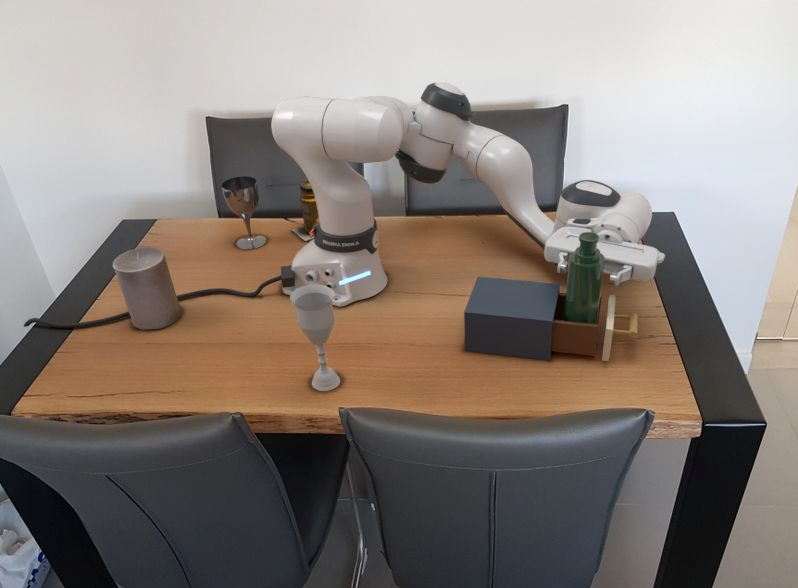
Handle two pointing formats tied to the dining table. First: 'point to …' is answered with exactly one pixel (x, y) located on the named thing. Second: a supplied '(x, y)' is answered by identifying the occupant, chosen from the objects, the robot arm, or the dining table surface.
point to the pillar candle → (147, 288)
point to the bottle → (584, 281)
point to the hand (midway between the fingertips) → (586, 275)
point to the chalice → (317, 327)
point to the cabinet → (511, 317)
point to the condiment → (307, 211)
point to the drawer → (587, 330)
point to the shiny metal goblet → (243, 206)
